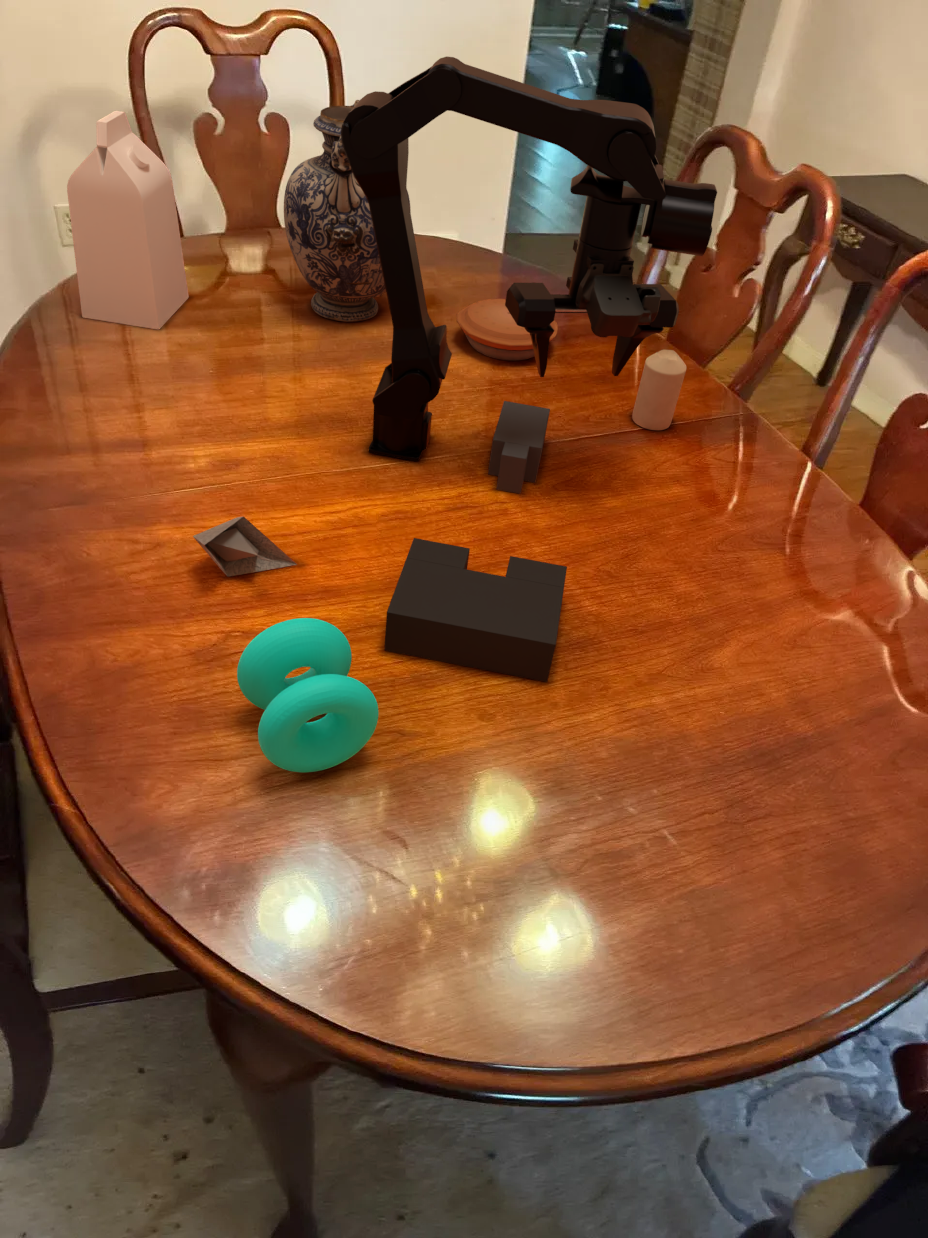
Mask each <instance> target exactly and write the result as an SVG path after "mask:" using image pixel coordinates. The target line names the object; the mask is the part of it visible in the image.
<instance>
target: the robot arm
mask: <svg viewBox="0 0 928 1238" xmlns="http://www.w3.org/2000/svg"><path fill="white" fill-rule="evenodd" d="M359 100H360V101H359V102H358V103H357V104H356V105H355V106H354V108H353V109H352V110H351V111H350V112H349V114H348V115H347V117H346V118H345V120H344V122H343V124H342V128H341V141H342V145H343V148H344V151H345V153H346V156H347V159H348V162H349V164H350V167H351V170H352V172H353V175H354V177H355V179H356V181H357V182H358V184H359V186H360V187H361V189H362V191H363V193H364V194H365V196H366V198H367V201H368V203H369V208H370V213H371V218H372V223H373V228H374V233H375V238H376V243H377V248H378V253H379V258H380V263H381V268H382V273H383V278H384V283H385V288H386V292H385V294H386V298H387V304H388V308H389V313H390V319H391V322H392V343H391V358H390V359H391V361H390V362H391V363H390V364H388V365H386V366H385V368H384V370H383V373H382V375H381V378H380V380H379V382H378V385H377V387H376V390H375V393H374V394H373V398H372V404H373V413H372V414H373V415H372V416H373V417H372V418H373V419H372V421H373V422H372V438H371V439H372V440H371V442H370V443H369V445H368V452H369V453H370V454H375V455H381V456H385V457H386V456H387V457H390V458H397V459H401V460H408V461H413V462H418V461H420V459H421V457H422V454H423V452H424V451H426V450H427V448H428V445H429V443H430V440H431V429H432V419H433V413H432V412H431V411H429V403H430V402H432V401H433V400H434V399H436V397H437V396H438V395H439V393H440V390H441V387H442V383H443V381H444V380H445V379H446V376H447V373H448V370H449V365H450V362H451V359H452V355H453V352H452V351H451V349H450V348H449V344H448V338H447V337H448V328H447V324H441V325H438V326H436V325H435V323H434V322H433V320H432V318H431V317H430V313H429V312H428V307H427V300H426V294H425V289H424V284H423V283H424V282H423V278H422V277H423V276H422V272H421V266H420V260H419V255H418V249H417V243H416V236H415V232H414V225H413V221H412V220H413V219H412V214H411V213H412V212H411V213H410V210H411V206H410V207H409V201H408V195H409V194H408V195H407V191H408V188H407V187H408V186H407V183H408V182H407V181H408V169H409V168H408V166H409V138H410V137H412V136H413V135H415V134H416V133H417V132H419V131H420V130H421V129H423V128H424V127H426V126H427V125H428V124H429V123H431V122H432V121H434V120H435V119H436V118H438V117H439V116H441V115H442V114H444V113H446V112H449V111H450V112H454V113H457V114H460V115H463V116H466V117H470V118H473V119H476V120H479V121H480V122H481V121H482V122H485V123H488V124H491V125H494V126H497V127H500V128H504V129H506V130H510V131H513V132H515V133H519V134H522V135H525V136H527V137H531V138H534V139H537V140H540V141H543V142H547V143H550V144H552V145H555V146H558V147H560V148H561V149H564V150H566V151H567V152H569V153H570V154H572V155H573V156H574V157H575V158H577V159H578V160H580V161H581V162H582V163H584V164H585V165H587V166H586V167H585V168H584V170H582V171H581V172H579V173H577V175H575V176H573V177H572V178H571V180H570V188H569V189H570V190H569V191H570V193H571V194H572V195H577V196H584V197H586V198H585V202H584V209H583V215H582V219H581V224H580V225H581V226H580V231H579V237H578V239H574V240H573V246H572V250H573V251H574V252H575V256H574V263H573V268H572V273H571V276H567V279H566V283H565V284H566V285H565V287H566V288H567V289H568V294H567V293H566V294H564V293H563V294H562V293H561V294H552V293H551V292H550V291H549V290H548V288H547V287H546V284H544V283H543V282H513V283H512V284H511V285H510V287H508V289H507V291H506V295H505V299H506V302H505V306H506V308H507V309H508V311H509V313H510V314H511V316H512V318H513V319H514V321H515V323H516V324H517V325H518V326H521V327H524V328H525V330H526V331H527V332H529V333H530V336H531V340H532V345H533V350H534V355H535V356H534V360H535V364H536V368H537V369H536V370H537V373H538V375H539V377H540V378H544V377H545V374H546V371H547V367H548V357H549V350H550V349H549V348H550V342H549V340H550V337H551V336H552V334H553V333H554V329H553V328H552V326H551V325H550V324H551V323H552V322H553V321H554V320H555V317H556V314H586V315H587V317H588V320H589V323H590V329H591V331H592V333H593V335H595V336H597V337H599V338H608V337H616V341H615V346H614V352H613V356H612V363H611V365H612V366H611V374H612V376H614V377H618V376H619V375H620V374H621V372H622V370H623V369H624V368H625V366H626V365H627V363H628V362H629V361H630V359H631V357H632V356H633V355H634V353H635V351H636V350H637V349H638V347H639V346H640V345H641V344H642V343H643V341H644V340H645V339H647V338H648V337H651V336H653V335H654V334H661V333H662V332H663V331H664V328H674V327H675V326H676V324H677V320H678V317H679V313H680V307H679V303H678V301H677V300H676V299H675V297H673V295H671V293H670V292H669V291H668V290H667V289H666V288H665V287H664V285H663V284H662V283H634V279H633V278H634V277H633V273H634V269H635V268H634V264H635V260H634V259H633V258H632V256H631V253H632V249H633V244H634V239H635V236H636V230H637V226H638V220H639V217H640V213H641V209H642V205H645V209H644V214H643V218H642V224H641V230H640V231H641V232H640V237H642V238H647V244H648V247H649V249H651V250H656V251H658V250H659V251H663V252H670V253H671V252H672V253H678V254H684V255H691V256H698V257H703V256H704V255H705V253H706V251H707V248H708V246H709V243H710V240H711V236H712V233H713V226H712V223H713V219H714V213H715V203H716V199H717V195H718V190H717V186H716V185H715V184H713V183H708V182H698V183H692V182H686V181H679V180H673V179H667V178H665V177H664V170H663V169H664V168H663V165H662V164H659V161H658V158H657V157H656V156H657V155H656V151H657V141H656V133H655V127H654V122H653V120H652V117H651V115H650V114H649V112H648V111H647V110H646V109H645V108H644V107H642V106H640V105H639V104H637V103H631V102H624V101H616V100H608V99H575V98H571V97H567V96H564V95H561V94H557V93H555V92H551V91H549V90H545V89H542V88H541V87H540V88H539V87H537V86H533V85H530V84H527V83H524V82H521V81H518V80H515V79H512V78H509V77H506V76H503V75H500V74H497V73H494V72H491V71H487V70H484V69H481V68H478V67H476V66H472V65H471V64H470V65H469V64H467V63H465V62H463V61H461V60H460V59H458V58H456V57H454V56H444V57H440V58H439V59H438V60H436V61H435V62H433V64H432V65H431V66H430V67H428V68H427V69H425V70H424V71H422V72H420V73H419V74H417V75H415V76H413V77H412V78H410V79H408V80H406V81H404V82H403V83H402V84H400V85H399V86H397V87H395V88H393V90H390V91H389V92H385V91H372V92H369V93H366V94H365V95H364V96H363V97H362V98H360V99H359ZM596 171H597V172H599V173H601V174H603V175H601V174H599V173H597V172H596ZM624 182H627V183H628V184H630V186H631V187H630V186H627V185H625V184H624Z"/></svg>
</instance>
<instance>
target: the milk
mask: <svg viewBox="0 0 928 1238" xmlns="http://www.w3.org/2000/svg"><path fill="white" fill-rule="evenodd" d="M95 122H96V123H95V124H96V125H95V126H96V147H95V148H94V149H93V150H92V151H91V152H90V153H89V154H88V155H87V157H85V159H84V160H83V161H82V162H81V163H80V164H79V165H78V167H76V169H74V171H73V172H72V174H71V175H70V177H69V178H68V180H67V184H66V188H67V189H66V192H67V201H68V209H69V210H68V211H69V218H70V225H71V234H72V244H73V251H74V252H73V253H74V258H75V260H74V261H75V268H76V276H77V277H76V278H77V286H78V293H79V294H78V295H79V301H80V302H79V303H80V310H81V311H80V312H81V317H82V318H84V319H89V320H90V319H91V320H96V321H101V322H109V323H115V324H121V325H128V326H134V327H140V328H144V329H145V328H146V329H152V330H160V329H161V328H162V327H164V325H165V324H167V322H168V321H169V320H170V319H171V318H172V316H174V314H175V313H176V312H177V311H178V310H179V309H180V308H181V306H183V305H184V304H185V302H187V300H188V299H189V298H190V296H189V289H188V282H187V275H186V268H185V267H186V266H185V260H184V254H183V246H182V239H181V232H180V225H179V217H178V212H177V204H176V198H175V197H176V196H175V190H174V183H173V178H172V174H171V171H170V170H169V168H168V167H167V165H166V163H164V162H163V160H162V159H161V158H159V156H157V154H155V152H154V151H153V150H152V149H150V148H149V147H148V146H147V144H145V143H144V142H143V141H142V140H141V139H140V137H138V135H136V134H135V133H134V132H133V130H132V127H131V125H130V122H129V119H128V116H127V113H126V111H121V110H114V111H112V112H110V113H109V114H106V115H105V116H103V117H102V118H100V119H97V120H96V121H95Z"/></svg>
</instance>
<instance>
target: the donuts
mask: <svg viewBox="0 0 928 1238" xmlns="http://www.w3.org/2000/svg"><path fill="white" fill-rule="evenodd" d="M352 654H353V653H352V648H351V644H350V643H349V640H348V638H347V637H346V634H344V633H343V631H341V630H340V629H339V628H338V627H337V626H335V625H334V624H332V623H330V622H328V621H326V620H323V619H320V618H314V617H298V618H290V619H286V620H284V621H279V622H277V623H275V624H273V625H271V626H268V627H267V628H265V629H264V630H262V631H261V632H260V633H258V634H257V635H255V637H254V638H252V640H250V642H249V643H248V644H247V645H246V646H245V648H244V649H243V651H242V653H241V655H240V657H239V660H238V662H237V668H236V678H237V684H238V688H239V690H240V691H241V693H242V695H243V696H244V697H245V699H247V700H248V702H250V703H251V704H252V705H254V706H256V707H257V708H259V709H260V710H261V709H262V710H264V711H263V712H262V715H261V717H260V719H259V724H258V728H257V742H258V744H259V747H260V750H261V752H262V754H263V755H264V756H265V758H266V759H267V760H268V761H269V762H270V763H272V764H273V765H274V766H276V767H278V768H280V769H281V770H285V771H288V772H293V773H315V772H321V771H325V770H328V769H331V768H333V767H336V766H338V765H340V764H343V763H345V762H346V761H348V760H349V759H351V758H352V757H353V756H355V755H356V754H357V753H359V752H360V751H361V750H363V748H364V747H365V746H366V745H367V744H368V742H370V740H371V738H372V737H373V735H374V733H375V731H376V728H377V725H378V722H379V715H380V710H379V704H378V701H377V698H376V697H375V694H374V693H373V692H372V691H371V689H370V688H369V687H368V686H367V685H366V684H365V683H363V682H362V681H360V680H359V679H357V678H354V677H351V676H348V675H349V673H350V670H351V667H352V659H353V655H352ZM300 668H308V670H306V671H304V672H303V673H301V674H299V675H296V676H293V677H287V676H288V675H289V674H290V673H292V672H293V671H295V670H297V669H300ZM321 715H324V716H322V717H321V718H319V719H317V720H314V721H310V720H311V719H314V718H316V717H318V716H321Z"/></svg>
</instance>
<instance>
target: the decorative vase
mask: <svg viewBox="0 0 928 1238" xmlns="http://www.w3.org/2000/svg"><path fill="white" fill-rule="evenodd" d="M359 101H360V99H355V101H354V103H353V104H352V105H331V106H326V107H324V108H322V109H321V110H320V114H319V115H318V116H317V117H316V118H315V119H314V120H313V124H312V125H313V127H314V128H315V130H317V131H319V132H321V134H322V137H323V139H324V141H323V142H322V144H321V146H322V149H323V152H322V154H320V155H317V156H316V155H315V156H313V157H311V158H308V159H305V160H303V161H302V162H300V163H299V164H298V165H297V166H296V167H295V168H294V169H293V171H291V174H290V175H289V178H288V180H287V182H286V184H285V185H286V186H285V189H284V196H283V221H284V223H283V224H284V228H285V234H286V239H287V242H288V245H289V248H290V251H291V254H292V257H293V259H294V261H295V264H296V266H297V268H298V270H299V272H300V273H301V275H302V277H303V278H304V280H305V282H306V283H307V284H308V285H309V286H310V288H311V289H313V290H314V291H315V292H316V293H314V294H313V295H312V297H311V300H310V306H311V309H312V311H313V312H314V313H316V314H317V315H319V316H321V317H322V318H325V319H327V320H331V321H336V322H342V323H343V322H344V323H357V322H364V321H367V320H371V319H372V318H374V317H375V316H376V315H377V313H378V311H379V305H378V301H377V300H376V299H375V298H378V297H382V296H383V295H384V294H385V293H386V288H385V283H384V278H383V273H382V268H381V263H380V258H379V253H378V248H377V243H376V238H375V233H374V228H373V223H372V218H371V213H370V208H369V203H368V201H367V198H366V196H365V194H364V193H363V191H362V189H361V187H360V186H359V184H358V182H357V181H356V179H355V177H354V175H353V172H352V170H351V167H350V164H349V162H348V159H347V156H346V153H345V151H344V148H343V145H342V141H341V128H342V124H343V122H344V120H345V118H346V117H347V115H348V114H349V112H350V111H351V110H352V109H353V108H354V106H355V105H356V104H357V103H358V102H359ZM407 195H408V201H409V207H410V208H411V199H410V194H409V191H408V190H407ZM410 213H412V211H411V209H410Z"/></svg>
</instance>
